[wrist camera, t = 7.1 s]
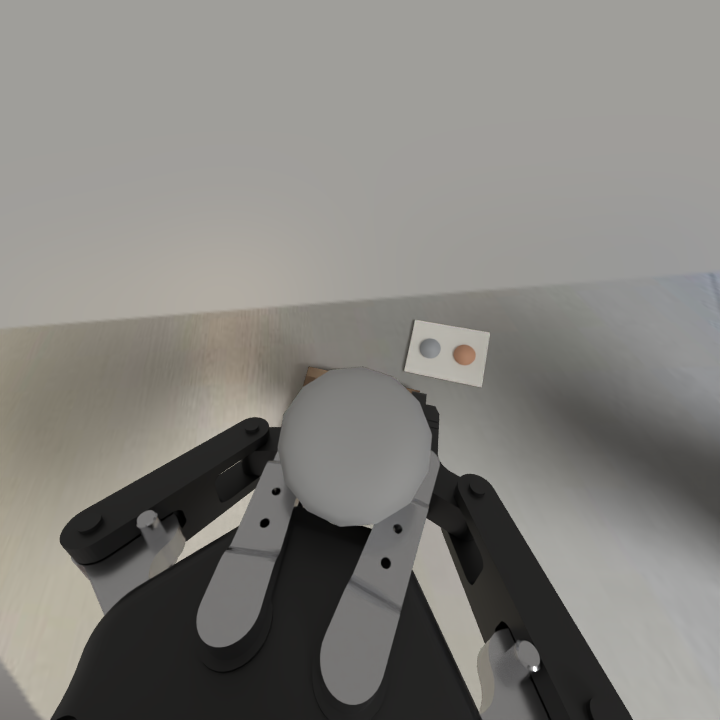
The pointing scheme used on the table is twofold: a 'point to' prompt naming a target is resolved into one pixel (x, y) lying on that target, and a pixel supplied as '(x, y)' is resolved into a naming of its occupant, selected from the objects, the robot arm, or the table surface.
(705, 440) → the table surface
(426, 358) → the card
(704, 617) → the table surface
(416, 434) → the salt shaker
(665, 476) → the table surface
